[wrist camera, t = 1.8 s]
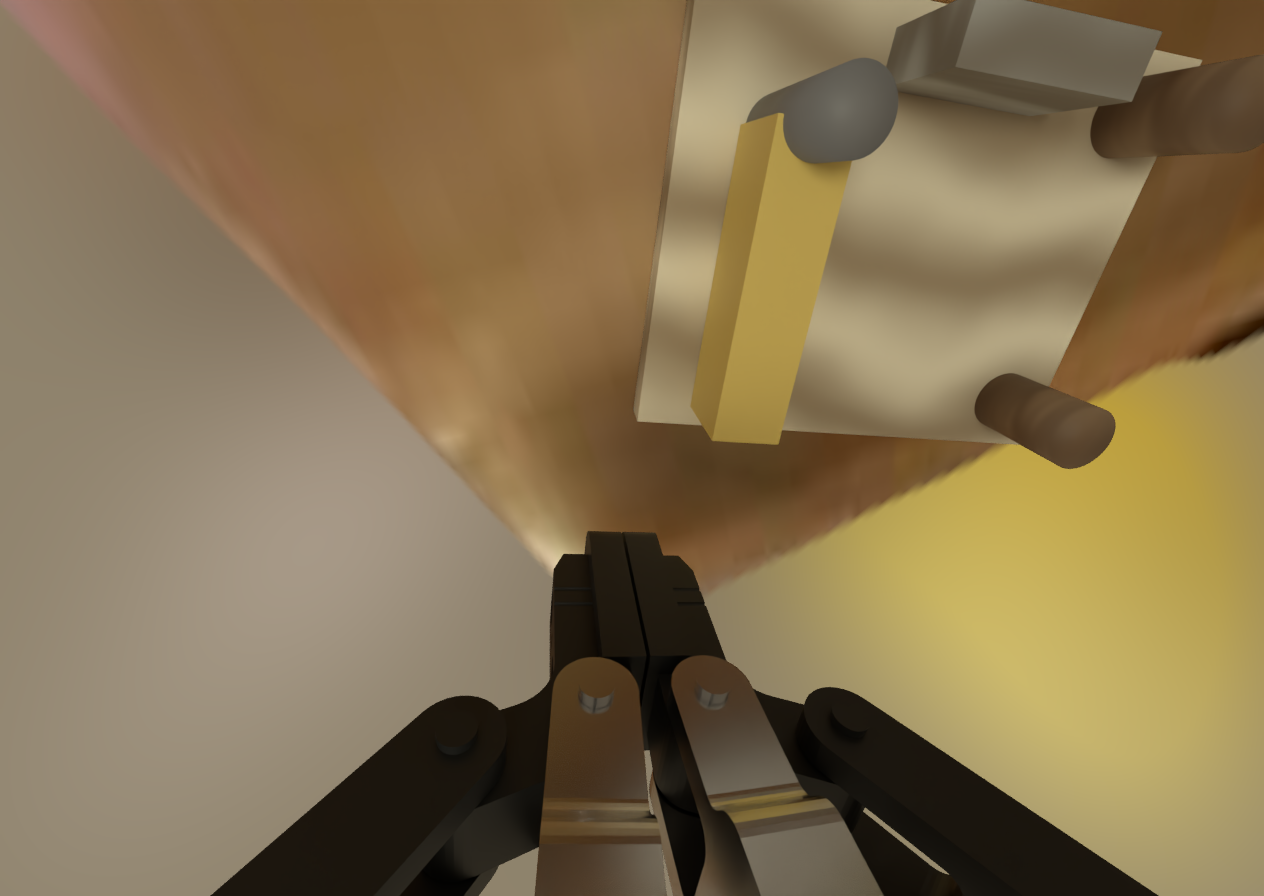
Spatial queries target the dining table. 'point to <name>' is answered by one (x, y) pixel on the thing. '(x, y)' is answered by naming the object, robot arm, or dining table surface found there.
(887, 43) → the seat board
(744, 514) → the dining table surface
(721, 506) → the dining table surface
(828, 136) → the bar
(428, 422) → the dining table surface
